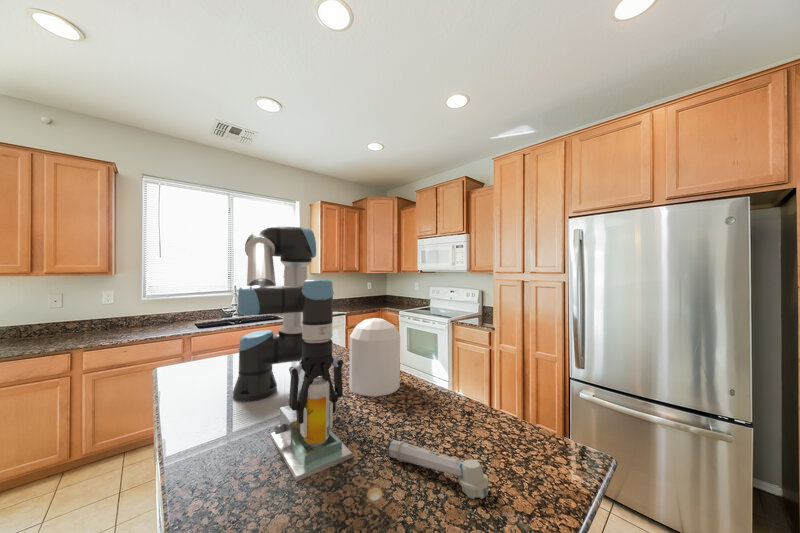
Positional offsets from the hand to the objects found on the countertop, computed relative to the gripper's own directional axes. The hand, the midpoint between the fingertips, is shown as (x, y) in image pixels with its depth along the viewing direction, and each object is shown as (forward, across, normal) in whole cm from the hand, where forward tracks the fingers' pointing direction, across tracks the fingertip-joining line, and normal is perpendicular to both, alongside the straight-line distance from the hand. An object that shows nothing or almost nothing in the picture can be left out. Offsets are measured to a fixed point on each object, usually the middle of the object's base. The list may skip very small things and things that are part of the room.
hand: (316, 430), depth 74 cm
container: (+7, +37, +30) cm, 48 cm away
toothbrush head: (+7, +20, -23) cm, 31 cm away
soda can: (+3, 0, 0) cm, 3 cm away
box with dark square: (+7, 0, +5) cm, 8 cm away
